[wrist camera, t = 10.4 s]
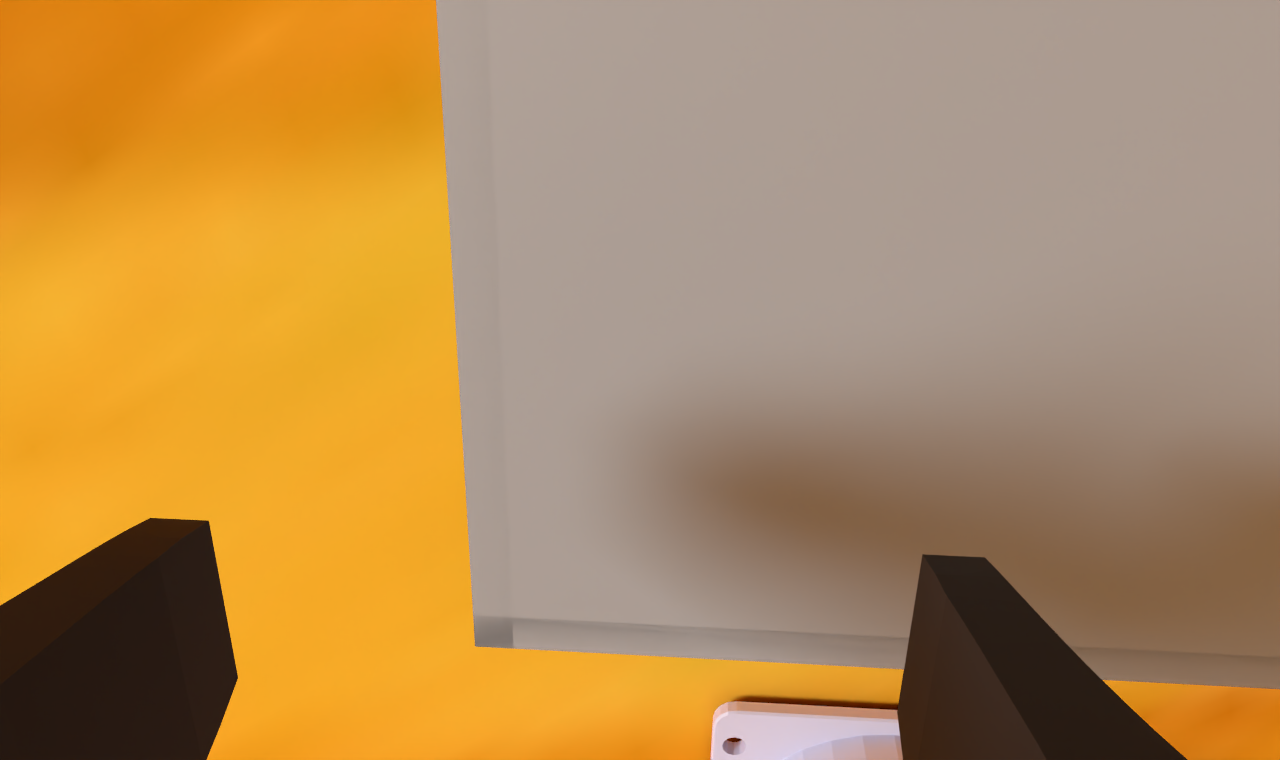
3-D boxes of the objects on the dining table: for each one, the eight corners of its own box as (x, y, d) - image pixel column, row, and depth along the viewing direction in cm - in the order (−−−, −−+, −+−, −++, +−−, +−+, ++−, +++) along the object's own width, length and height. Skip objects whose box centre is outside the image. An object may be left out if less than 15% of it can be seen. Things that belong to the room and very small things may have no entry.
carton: (1335, 490, 22) (1541, 702, 16) (532, 454, 22) (475, 646, 17) (1656, -439, 15) (2181, -600, 10) (505, -448, 16) (399, -602, 10)
